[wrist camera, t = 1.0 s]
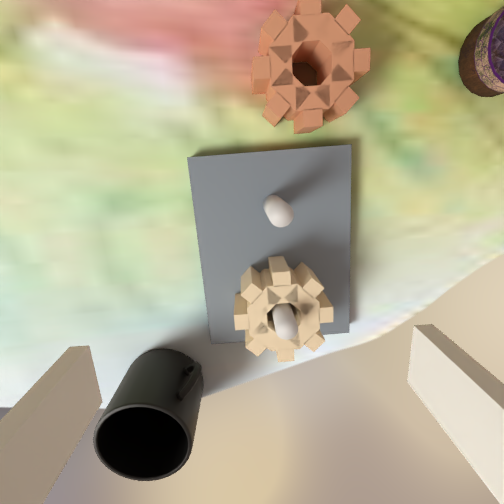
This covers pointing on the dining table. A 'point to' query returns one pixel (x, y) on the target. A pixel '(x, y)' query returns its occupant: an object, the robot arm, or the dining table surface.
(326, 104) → the gear
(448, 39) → the dining table surface
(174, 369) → the mug
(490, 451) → the robot arm
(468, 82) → the mug
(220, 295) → the gear board
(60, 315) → the dining table surface
